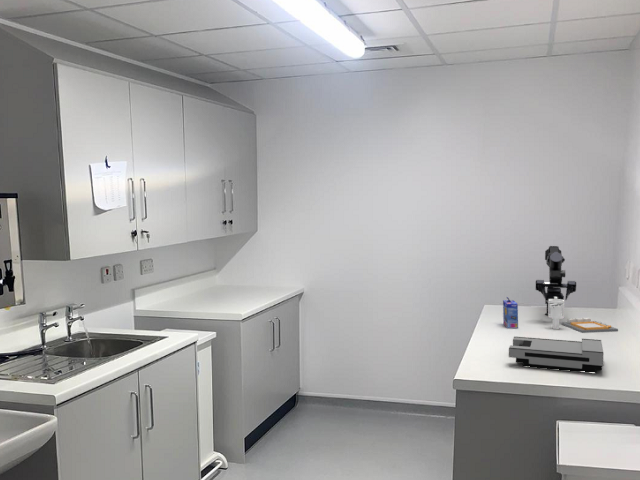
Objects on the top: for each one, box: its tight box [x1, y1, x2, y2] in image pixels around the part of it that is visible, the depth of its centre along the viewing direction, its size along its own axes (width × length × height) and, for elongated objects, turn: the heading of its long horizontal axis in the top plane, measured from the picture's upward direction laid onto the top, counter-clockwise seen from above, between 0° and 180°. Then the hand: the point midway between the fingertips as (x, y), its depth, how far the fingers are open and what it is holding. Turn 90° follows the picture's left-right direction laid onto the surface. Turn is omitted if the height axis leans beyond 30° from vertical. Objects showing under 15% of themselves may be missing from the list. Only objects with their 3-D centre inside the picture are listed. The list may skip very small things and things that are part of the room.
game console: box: [508, 336, 604, 373], centre depth 222 cm, size 21×32×8 cm, turn 66°
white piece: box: [547, 297, 565, 330], centre depth 280 cm, size 7×7×15 cm
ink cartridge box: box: [502, 296, 519, 329], centre depth 286 cm, size 10×6×14 cm, turn 174°
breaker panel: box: [561, 317, 619, 334], centre depth 281 cm, size 18×18×3 cm
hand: (555, 299), depth 286 cm, fingers open, 9 cm apart
